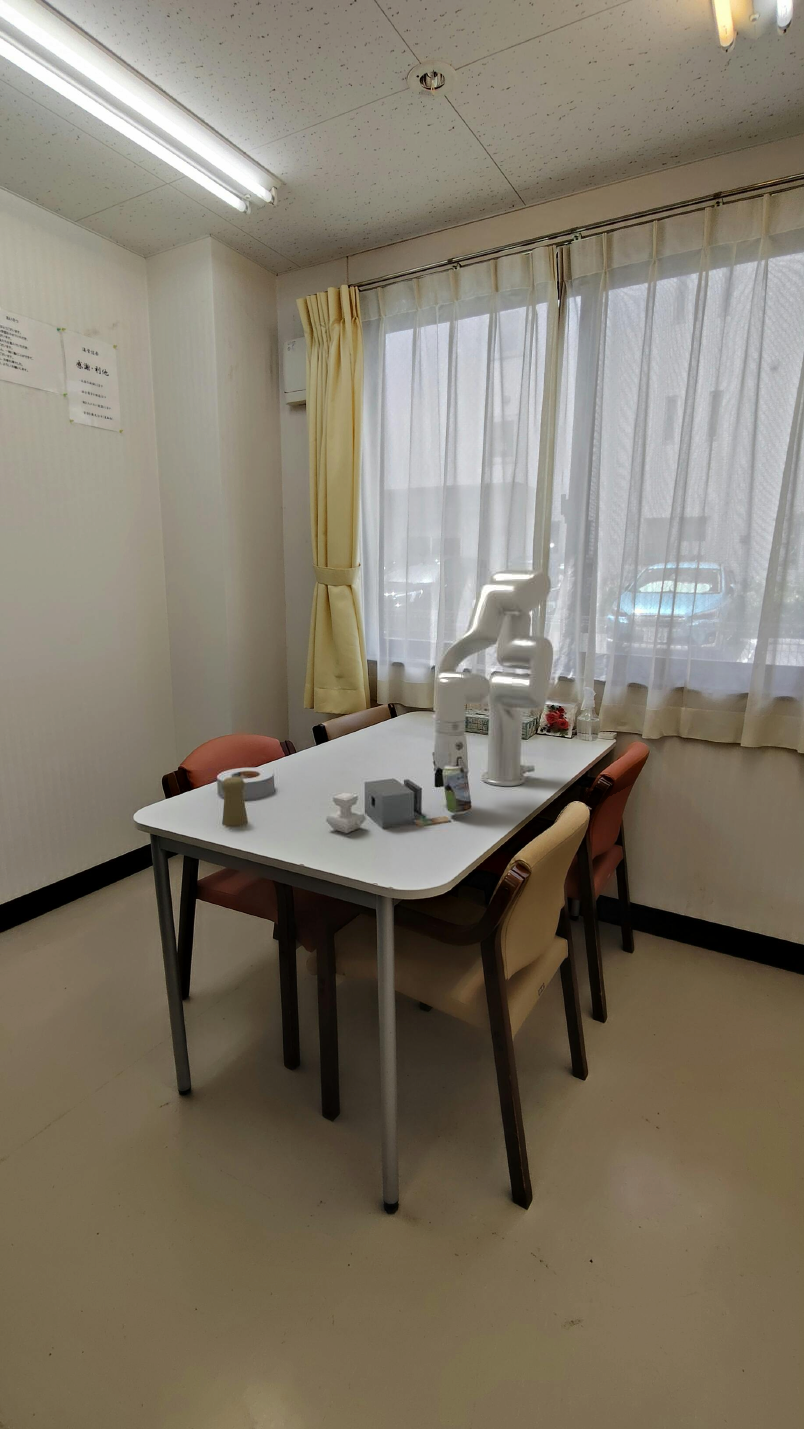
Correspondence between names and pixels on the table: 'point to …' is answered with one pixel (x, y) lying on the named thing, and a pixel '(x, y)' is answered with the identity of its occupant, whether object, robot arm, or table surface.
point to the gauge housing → (389, 803)
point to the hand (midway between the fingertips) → (449, 792)
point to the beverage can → (456, 790)
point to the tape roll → (250, 782)
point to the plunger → (415, 796)
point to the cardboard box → (432, 821)
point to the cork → (234, 802)
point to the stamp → (345, 814)
